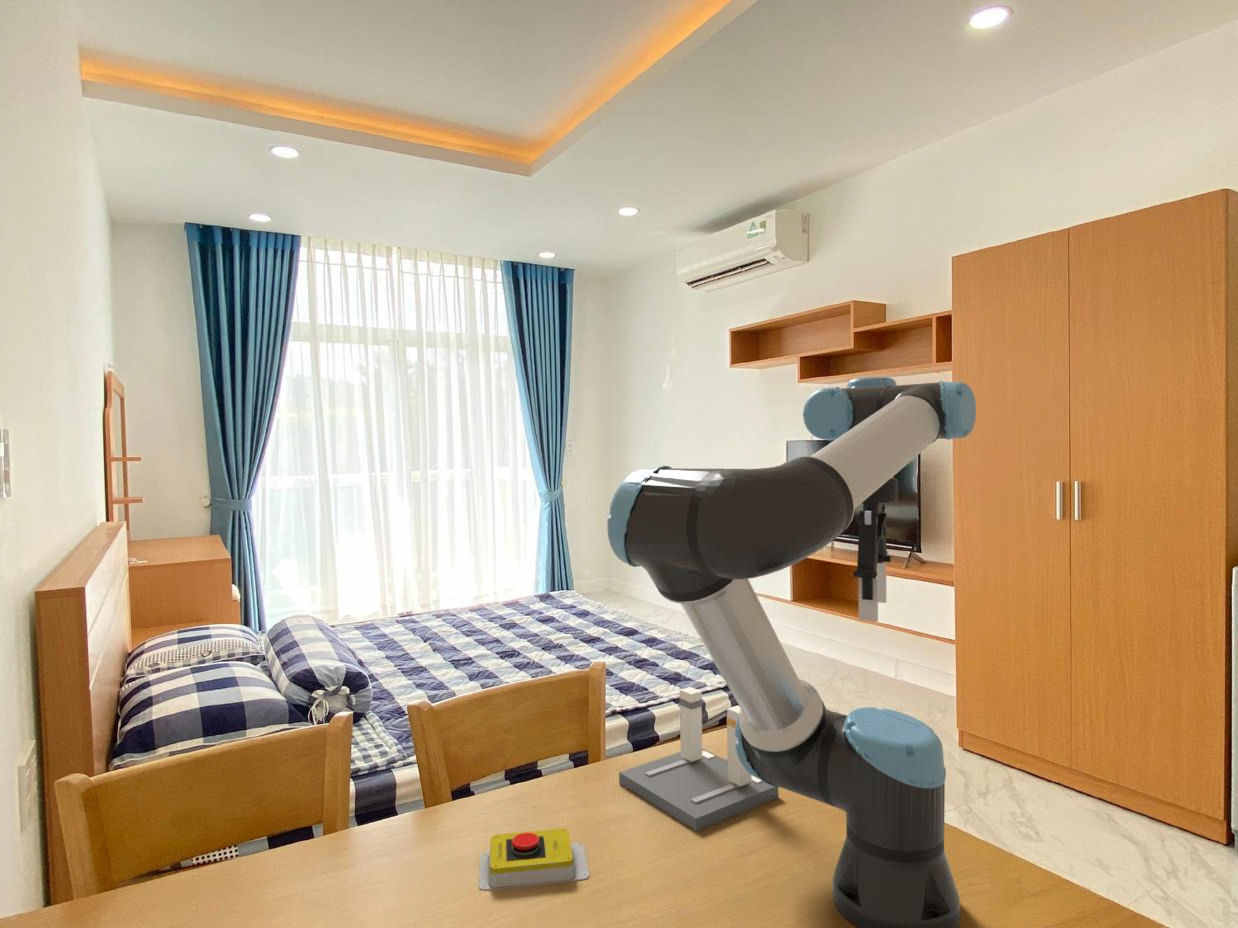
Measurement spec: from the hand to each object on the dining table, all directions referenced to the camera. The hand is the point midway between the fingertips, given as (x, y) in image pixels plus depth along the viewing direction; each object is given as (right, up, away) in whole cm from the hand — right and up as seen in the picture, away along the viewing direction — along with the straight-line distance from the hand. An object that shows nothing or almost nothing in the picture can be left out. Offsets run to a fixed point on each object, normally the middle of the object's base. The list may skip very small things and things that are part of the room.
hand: (873, 610), depth 119 cm
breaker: (-27, -29, +15) cm, 43 cm away
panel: (-27, -32, +8) cm, 43 cm away
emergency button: (-52, -34, -14) cm, 64 cm away
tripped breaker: (-20, -29, +6) cm, 36 cm away
